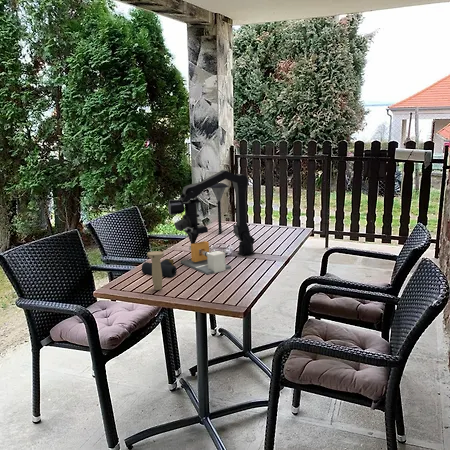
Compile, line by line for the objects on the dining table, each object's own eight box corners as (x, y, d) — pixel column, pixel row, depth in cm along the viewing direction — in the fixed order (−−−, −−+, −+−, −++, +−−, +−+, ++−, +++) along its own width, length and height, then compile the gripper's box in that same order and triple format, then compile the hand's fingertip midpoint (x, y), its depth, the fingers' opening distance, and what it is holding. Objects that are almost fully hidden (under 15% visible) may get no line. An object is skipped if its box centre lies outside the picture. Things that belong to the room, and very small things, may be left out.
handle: (152, 286, 181) (150, 251, 178) (167, 287, 180) (165, 251, 177) (148, 290, 177) (145, 254, 173) (163, 291, 175) (161, 254, 172)
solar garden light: (206, 233, 267) (204, 183, 261) (225, 230, 272) (223, 181, 266) (214, 237, 257) (212, 185, 250) (234, 234, 261) (232, 183, 255)
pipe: (193, 249, 214) (192, 245, 214) (218, 259, 198) (218, 254, 197) (189, 250, 213) (188, 246, 213) (214, 260, 197) (214, 255, 196)
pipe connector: (156, 256, 206) (183, 259, 199) (156, 267, 207) (184, 270, 201) (141, 263, 196) (169, 267, 189) (142, 275, 197) (170, 279, 191)
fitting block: (219, 267, 202) (218, 250, 200) (225, 270, 198) (224, 252, 196) (208, 270, 199) (207, 253, 197) (214, 273, 195) (213, 255, 193)
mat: (203, 257, 218) (203, 255, 218) (231, 268, 200) (231, 265, 200) (181, 263, 210) (180, 261, 210) (207, 274, 193) (207, 272, 193)
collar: (205, 257, 212) (205, 241, 210) (209, 258, 209) (208, 242, 207) (191, 260, 207) (190, 244, 205) (195, 262, 205) (194, 245, 203)
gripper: (166, 212, 211) (168, 244, 214) (186, 218, 196) (188, 252, 200) (186, 209, 217) (188, 240, 221) (207, 214, 203) (209, 247, 206)
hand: (192, 244), depth 212 cm, fingers closed
